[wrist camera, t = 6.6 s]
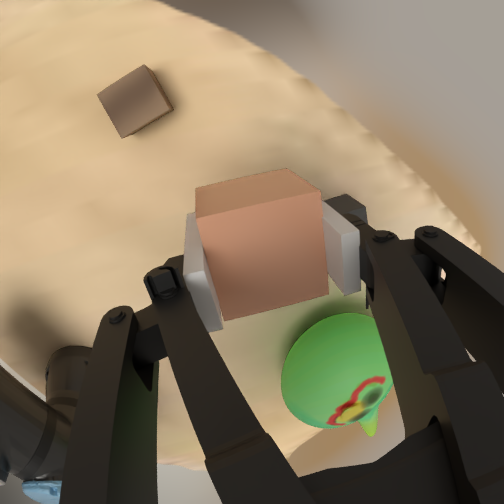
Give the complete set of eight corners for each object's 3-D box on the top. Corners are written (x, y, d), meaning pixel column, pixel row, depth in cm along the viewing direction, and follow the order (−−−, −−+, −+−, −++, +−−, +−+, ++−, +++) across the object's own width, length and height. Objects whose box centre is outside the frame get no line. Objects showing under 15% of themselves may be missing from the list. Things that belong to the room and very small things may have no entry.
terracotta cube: (297, 249, 19) (328, 294, 15) (216, 269, 19) (224, 321, 14) (286, 168, 17) (320, 191, 12) (195, 188, 16) (195, 218, 12)
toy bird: (304, 282, 41) (348, 360, 28) (394, 303, 46) (446, 365, 33) (255, 376, 47) (275, 454, 34) (342, 383, 52) (372, 447, 39)
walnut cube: (173, 109, 29) (169, 109, 25) (132, 134, 30) (121, 138, 25) (152, 70, 27) (144, 64, 23) (111, 96, 27) (96, 94, 23)
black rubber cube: (352, 230, 39) (370, 246, 34) (316, 242, 39) (331, 260, 34) (346, 193, 37) (365, 206, 32) (308, 205, 36) (323, 220, 32)
